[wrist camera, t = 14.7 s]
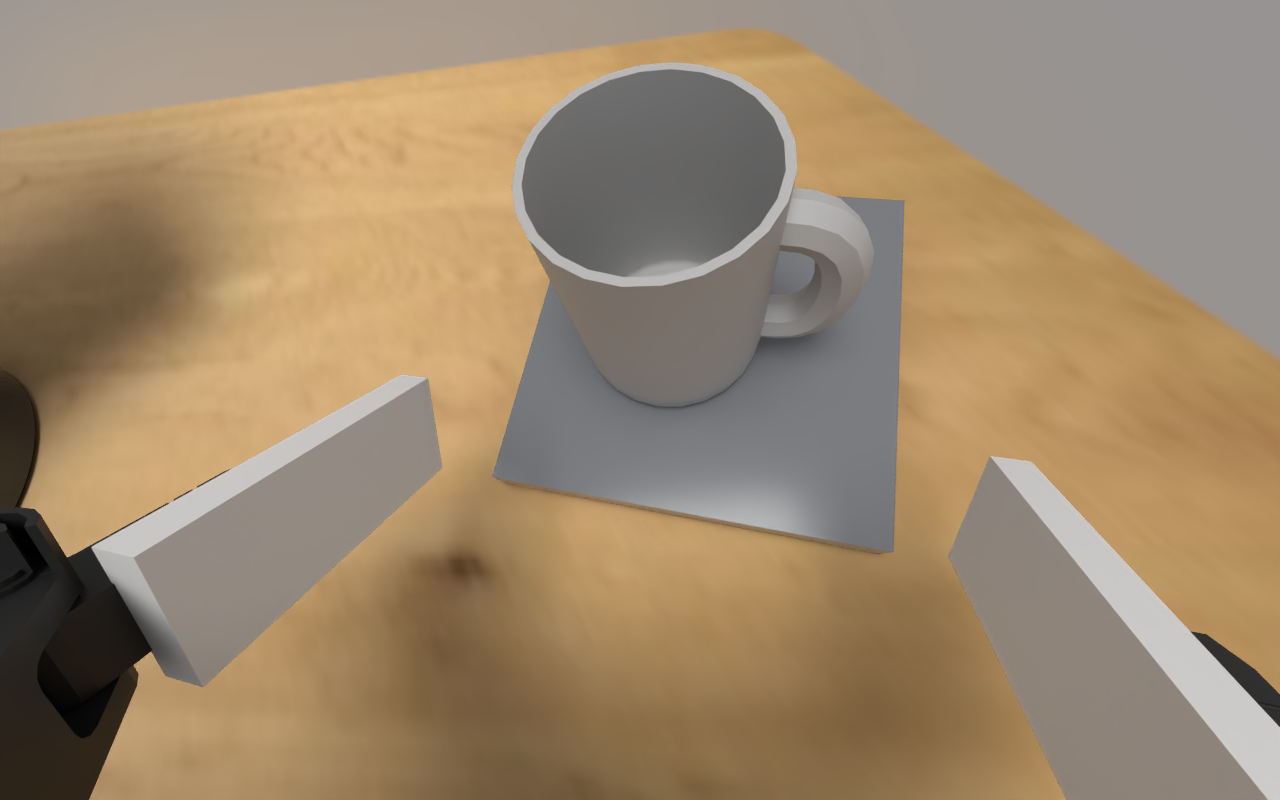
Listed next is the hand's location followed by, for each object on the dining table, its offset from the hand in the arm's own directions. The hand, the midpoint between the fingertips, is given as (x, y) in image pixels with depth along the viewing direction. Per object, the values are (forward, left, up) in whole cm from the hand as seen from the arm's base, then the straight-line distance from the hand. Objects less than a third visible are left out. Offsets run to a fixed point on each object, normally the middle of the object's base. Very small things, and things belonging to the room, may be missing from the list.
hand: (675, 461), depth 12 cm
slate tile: (0, +7, -8) cm, 11 cm away
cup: (0, +7, -7) cm, 10 cm away
